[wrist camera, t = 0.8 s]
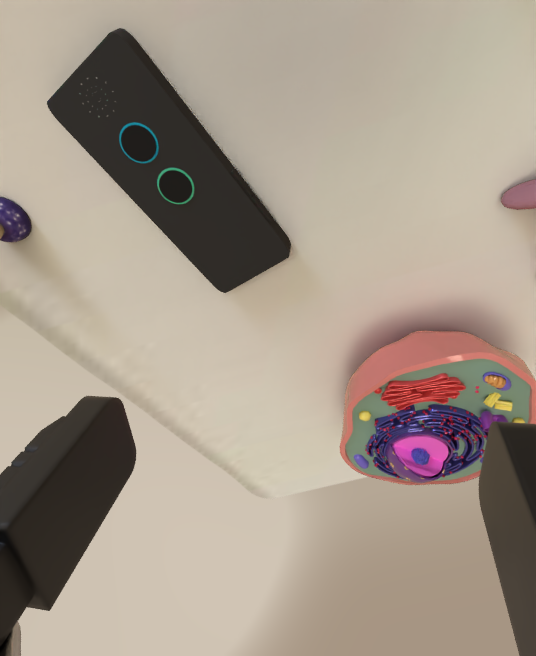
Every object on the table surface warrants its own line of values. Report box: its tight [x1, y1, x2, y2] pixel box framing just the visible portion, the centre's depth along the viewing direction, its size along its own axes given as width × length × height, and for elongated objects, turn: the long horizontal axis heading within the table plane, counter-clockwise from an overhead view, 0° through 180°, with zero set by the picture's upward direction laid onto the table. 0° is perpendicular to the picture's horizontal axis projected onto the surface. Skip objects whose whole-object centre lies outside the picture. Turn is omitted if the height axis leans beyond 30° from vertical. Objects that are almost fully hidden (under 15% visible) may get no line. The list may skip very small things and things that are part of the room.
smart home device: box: [47, 28, 291, 293], centre depth 36 cm, size 8×2×20 cm
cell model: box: [340, 330, 536, 485], centre depth 43 cm, size 17×20×11 cm
